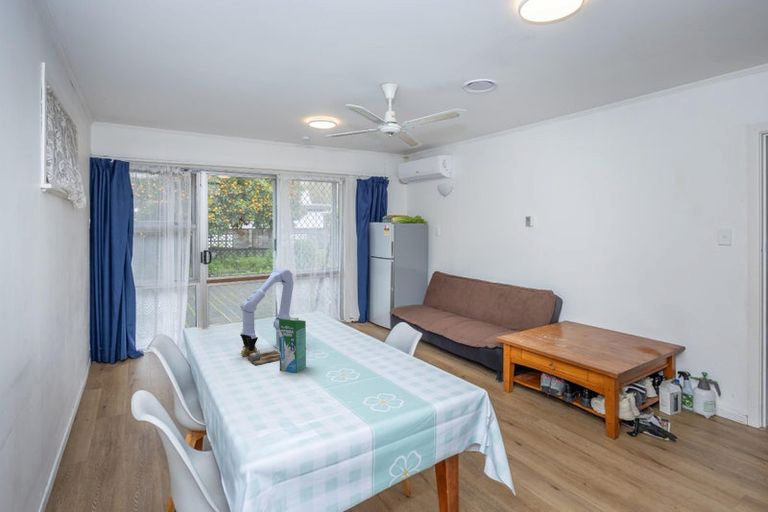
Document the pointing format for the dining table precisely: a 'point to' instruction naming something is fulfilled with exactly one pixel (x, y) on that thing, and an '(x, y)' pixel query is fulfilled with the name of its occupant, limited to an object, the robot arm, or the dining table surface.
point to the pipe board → (264, 357)
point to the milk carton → (292, 344)
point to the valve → (247, 351)
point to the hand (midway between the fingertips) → (249, 348)
